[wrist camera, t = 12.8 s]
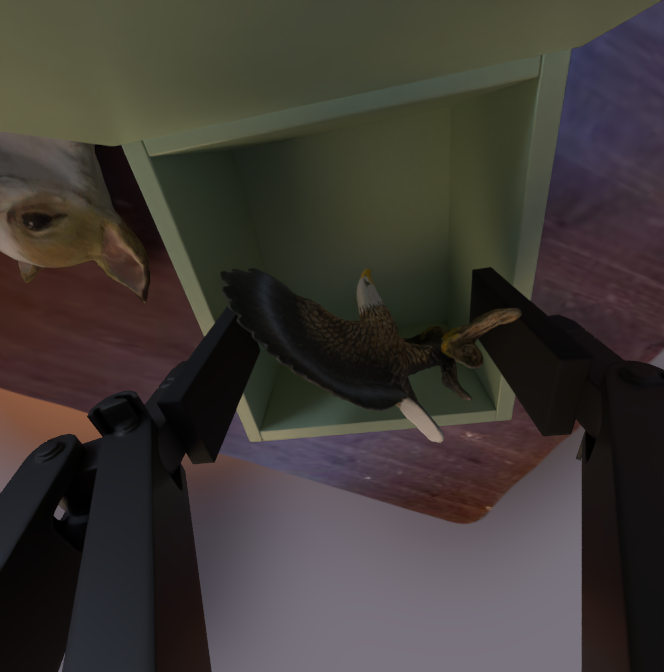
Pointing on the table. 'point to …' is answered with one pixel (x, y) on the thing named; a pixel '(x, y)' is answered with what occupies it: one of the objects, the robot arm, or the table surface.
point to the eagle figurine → (355, 344)
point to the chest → (366, 221)
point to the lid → (253, 55)
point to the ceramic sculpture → (63, 212)
